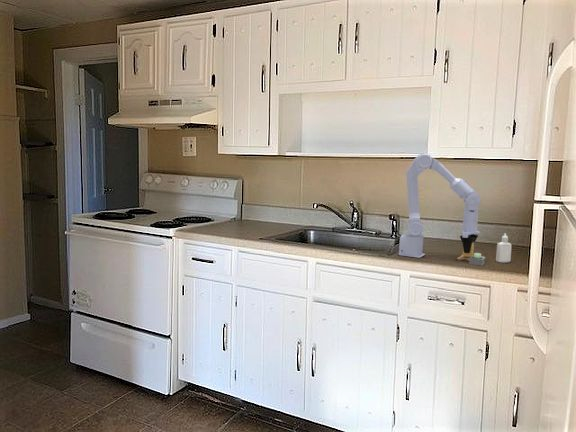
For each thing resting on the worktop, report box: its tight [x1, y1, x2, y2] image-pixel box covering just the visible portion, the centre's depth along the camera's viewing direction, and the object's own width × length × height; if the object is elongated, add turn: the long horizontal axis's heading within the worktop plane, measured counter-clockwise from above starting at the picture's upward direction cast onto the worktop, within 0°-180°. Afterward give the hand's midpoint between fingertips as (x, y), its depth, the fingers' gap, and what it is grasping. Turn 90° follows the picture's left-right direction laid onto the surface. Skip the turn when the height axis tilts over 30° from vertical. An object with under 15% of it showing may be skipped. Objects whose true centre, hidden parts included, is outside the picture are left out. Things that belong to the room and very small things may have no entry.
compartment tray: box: [456, 253, 487, 262], centre depth 203 cm, size 10×10×1 cm
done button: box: [473, 252, 482, 259], centre depth 194 cm, size 3×3×3 cm
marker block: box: [462, 242, 475, 257], centre depth 202 cm, size 4×4×6 cm
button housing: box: [468, 256, 486, 266], centre depth 194 cm, size 5×5×2 cm
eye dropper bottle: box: [495, 232, 512, 264], centre depth 198 cm, size 4×6×12 cm
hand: (468, 252), depth 202 cm, fingers closed on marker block, 3 cm apart
